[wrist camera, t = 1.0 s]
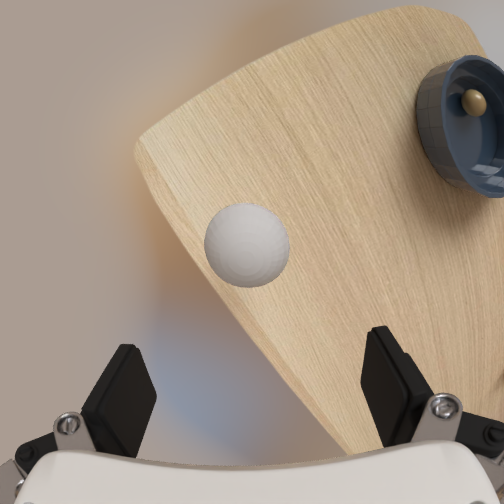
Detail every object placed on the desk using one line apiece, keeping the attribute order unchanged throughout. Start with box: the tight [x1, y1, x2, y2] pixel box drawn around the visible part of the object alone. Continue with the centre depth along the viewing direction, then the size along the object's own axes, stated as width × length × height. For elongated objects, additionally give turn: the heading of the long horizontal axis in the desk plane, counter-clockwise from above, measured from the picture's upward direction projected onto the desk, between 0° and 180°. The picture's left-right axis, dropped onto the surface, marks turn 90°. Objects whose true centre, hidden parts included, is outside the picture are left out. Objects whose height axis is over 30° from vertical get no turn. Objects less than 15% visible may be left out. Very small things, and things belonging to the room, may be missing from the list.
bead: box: [461, 89, 486, 117], centre depth 25 cm, size 4×4×4 cm
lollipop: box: [204, 203, 290, 288], centre depth 25 cm, size 6×6×15 cm
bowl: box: [416, 55, 504, 198], centre depth 25 cm, size 17×17×6 cm
